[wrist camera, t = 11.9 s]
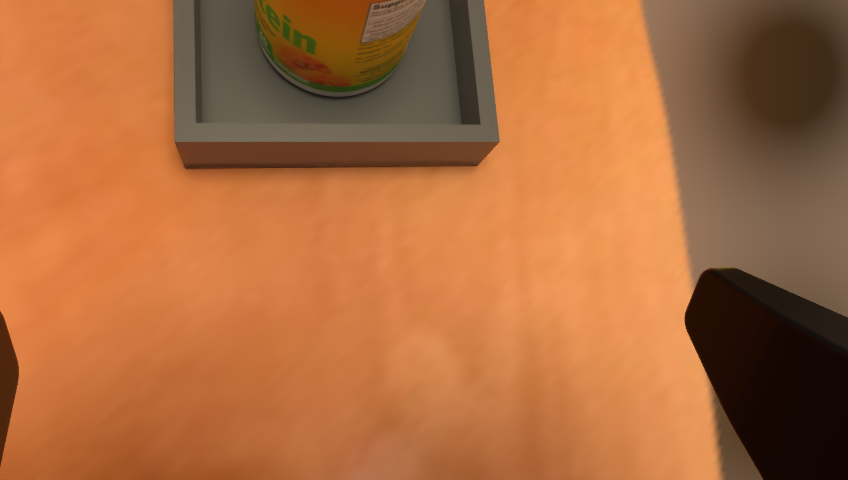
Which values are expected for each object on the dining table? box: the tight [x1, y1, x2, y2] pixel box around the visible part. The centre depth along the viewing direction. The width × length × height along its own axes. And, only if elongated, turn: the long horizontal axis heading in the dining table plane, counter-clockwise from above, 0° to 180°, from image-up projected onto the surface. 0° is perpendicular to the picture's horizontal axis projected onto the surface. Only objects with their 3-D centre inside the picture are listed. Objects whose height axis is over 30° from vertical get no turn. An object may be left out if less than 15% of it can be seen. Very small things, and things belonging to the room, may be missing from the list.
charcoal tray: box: [174, 0, 500, 168], centre depth 23 cm, size 10×10×2 cm
